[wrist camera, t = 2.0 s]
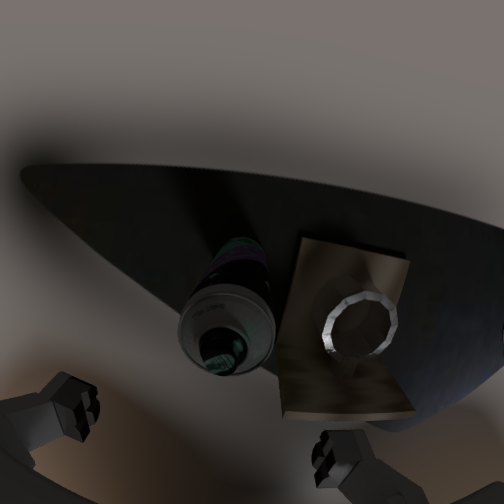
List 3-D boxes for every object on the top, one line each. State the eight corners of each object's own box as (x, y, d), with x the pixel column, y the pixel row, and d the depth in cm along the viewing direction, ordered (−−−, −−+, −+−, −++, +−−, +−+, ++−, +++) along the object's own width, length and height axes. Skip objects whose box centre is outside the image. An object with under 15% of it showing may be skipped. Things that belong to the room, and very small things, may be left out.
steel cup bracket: (384, 280, 31) (407, 297, 25) (359, 352, 33) (374, 379, 27) (322, 268, 31) (336, 286, 25) (300, 346, 33) (308, 375, 27)
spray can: (274, 250, 32) (302, 342, 12) (251, 292, 33) (245, 418, 13) (230, 227, 31) (188, 287, 12) (209, 270, 32) (149, 375, 13)
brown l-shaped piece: (406, 259, 32) (470, 293, 19) (372, 356, 34) (411, 417, 22) (301, 236, 31) (331, 266, 18) (274, 345, 34) (282, 418, 21)
